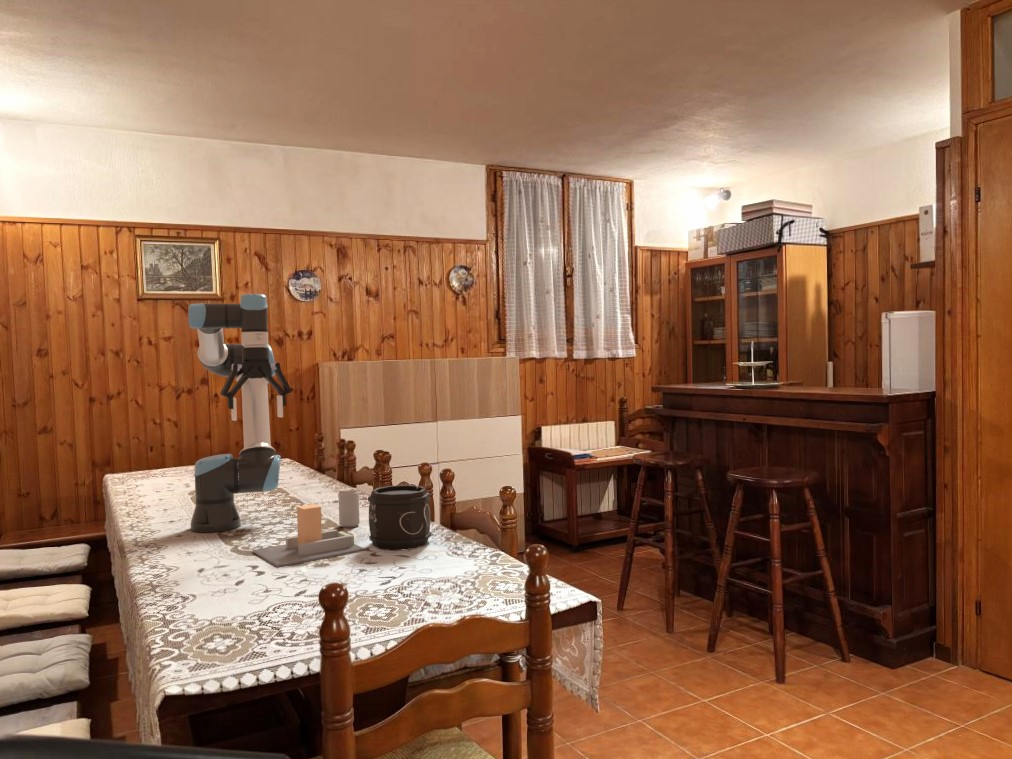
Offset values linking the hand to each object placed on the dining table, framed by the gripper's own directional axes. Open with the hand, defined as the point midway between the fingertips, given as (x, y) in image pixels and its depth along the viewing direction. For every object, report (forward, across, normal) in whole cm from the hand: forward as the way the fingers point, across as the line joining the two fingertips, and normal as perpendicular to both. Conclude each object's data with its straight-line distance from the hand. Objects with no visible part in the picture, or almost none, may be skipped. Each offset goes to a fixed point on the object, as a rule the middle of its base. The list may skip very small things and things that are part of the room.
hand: (257, 418), depth 223 cm
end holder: (+37, +7, -20) cm, 42 cm away
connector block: (+36, +7, -20) cm, 42 cm away
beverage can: (+37, +29, +2) cm, 47 cm away
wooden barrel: (+37, +31, -29) cm, 56 cm away
